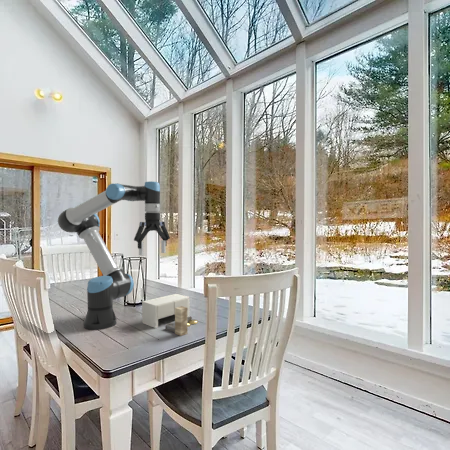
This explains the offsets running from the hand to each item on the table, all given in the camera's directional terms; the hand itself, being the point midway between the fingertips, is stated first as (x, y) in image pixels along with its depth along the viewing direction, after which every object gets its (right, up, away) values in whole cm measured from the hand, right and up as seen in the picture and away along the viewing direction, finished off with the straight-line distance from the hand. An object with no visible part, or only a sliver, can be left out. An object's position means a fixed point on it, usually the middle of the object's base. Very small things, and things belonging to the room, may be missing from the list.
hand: (152, 254), depth 163 cm
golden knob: (+18, -35, -5) cm, 40 cm away
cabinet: (+7, -35, +3) cm, 35 cm away
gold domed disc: (+21, -35, -1) cm, 41 cm away
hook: (+18, -35, -8) cm, 40 cm away
